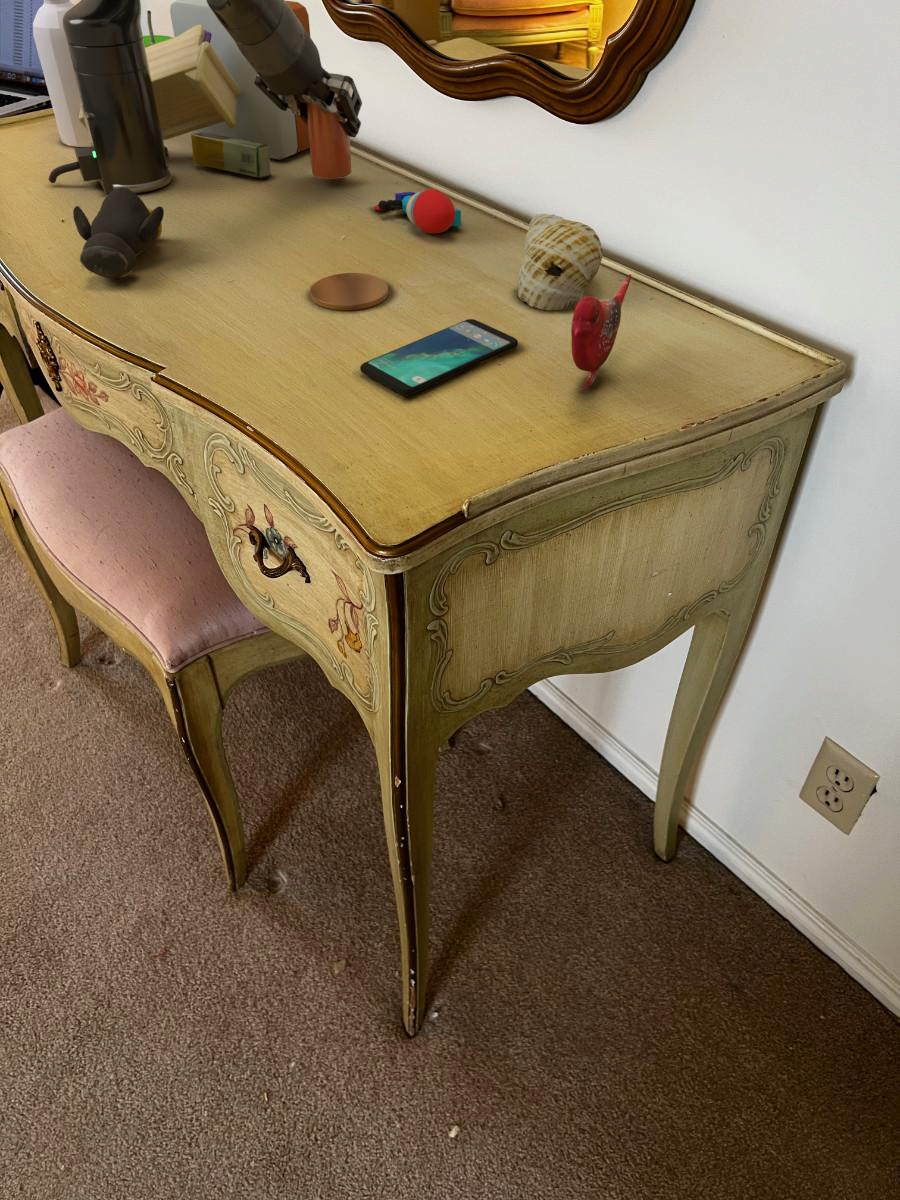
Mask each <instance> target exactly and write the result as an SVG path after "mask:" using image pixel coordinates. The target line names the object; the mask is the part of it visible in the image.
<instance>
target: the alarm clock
mask: <svg viewBox="0 0 900 1200" xmlns="http://www.w3.org/2000/svg"><path fill="white" fill-rule="evenodd" d="M284 1H285V2H286V3H287V4H288V5H289V6H290V8H291V9H292V11H293V12H294V14H295V15H296V17H297V18H298V20H299V21H300V23H301V24H302V26H303V27H304V29H305V30H306V32H307V33H308V35H309V36H310V38H311V39H312V37H311V28H310V15H309V12H308V10H307V7H305V6H304V5H303V4H301V3H300V2H298V1H291V0H284ZM169 14H170V21H171V25H172V26H171V27H172V30H173V38H174V37H177V36H179V35H181V34H183V33H184V32H186V31H188V30H189V29H191V28H192V27H194V26H197V25H201V26H202V27H203V29H204V30H206V31H208V32H210V33H211V34H212V36H211V41H210V45H211V46H212V48H213V49H214V50H215V52H216V53H217V55H218V56H219V58H220V59H221V61H222V62H223V64H224V65H225V67H226V68H227V70H228V71H229V73H230V74H231V76H232V77H233V79H234V80H235V82H236V83H237V85H238V86H239V88H240V89H241V95H240V97H239V98H238V99H237V109H236V125H235V127H233V128H230V127H229V126H228V125H227V123H226V122H221V123H218V124H215V125H212V126H208V127H205V128H202V129H199V130H195V131H192V132H190V133H191V134H194V133H200V132H206V133H211V134H216V135H221V136H226V137H231V138H237V139H242V140H247V141H252V142H257V143H263V144H268V145H269V147H270V159H275V160H283V159H286V158H288V157H290V156H293V155H295V154H298V153H300V152H303V151H305V150H307V149H310V144H309V132H308V126H307V125H306V124H305V123H304V121H303V120H302V119H301V117H300V116H298V115H295V114H293V113H292V111H291V109H289V108H287V111H283V110H281V109H279V108H278V107H277V106H276V105H275V104H274V103H273V102H272V101H271V100H270V99H269V98H268V97H267V96H266V95H265V94H264V93H263V92H262V91H261V90H260V89H259V88H258V87H257V86H256V85H255V84H254V82H255V79H256V75H257V73H256V71H255V70H254V69H253V67H252V66H251V65H250V64H249V62H248V61H247V60H246V59H245V57H244V56H243V55H242V53H241V52H240V50H239V49H238V47H237V45H236V43H235V42H234V40H233V38H232V37H231V36H230V35H229V33H228V32H227V31H226V29H225V28H224V27H223V26H222V24H221V23H220V22H219V20H218V19H217V18H216V17H215V15H214V14H213V12H212V11H211V9H210V7H209V6H208V3H207V1H206V0H174V1H173V2H171V3H170V7H169ZM278 96H279V98H280V99H281V95H278Z"/></svg>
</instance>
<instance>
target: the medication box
mask: <svg viewBox="0 0 900 1200" xmlns="http://www.w3.org/2000/svg"><path fill="white" fill-rule="evenodd" d="M190 138H191V149H192V150H191V151H192V161H193V164H194V165H198V166H199V165H200V166H204V167H208V168H213V169H217V170H222V171H227V172H231V173H235V174H240V175H245V176H250V177H254V178H258V179H263V178H268V177H270V176H271V175H272V173H271V158H270V147H269V145H268V144H263V143H257V142H252V141H247V140H242V139H237V138H231V137H226V136H221V135H216V134H211V133H206V132H200V133H194V134H192V133H191V134H190Z"/></svg>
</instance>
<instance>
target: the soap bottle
mask: <svg viewBox="0 0 900 1200" xmlns="http://www.w3.org/2000/svg"><path fill="white" fill-rule="evenodd" d="M75 5H76V4H75V3H73V2H72V1H71V0H43V4H42V5H41V6H40V7H39V8H38V10H37V12H36V14H35V16H34V19H33V23H32V33H33V40H34V44H35V46H36V51H37V55H38V59H39V62H40V65H41V70H42V73H43V77H44V80H45V85H46V88H47V92H48V95H49V99H50V103H51V107H52V110H53V115H54V118H55V121H56V126H57V129H58V133H59V137H60V140H61V142H62V143H63V145H66V146H69V147H76V148H82V147H90V146H91V145H90V141H89V137H88V133H87V129H86V128H85V127H84V126H83V124H82V123H81V122H80V120H79V114H80V108H81V98H80V94H79V90H78V86H77V81H76V77H75V73H74V69H73V65H72V61H71V57H70V53H69V49H68V45H67V41H66V37H65V33H64V29H63V23H62V19H63V16H64V14H65V13H66V12H67V11H68V10H70V9H71V8H72V7H74V6H75Z"/></svg>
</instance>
